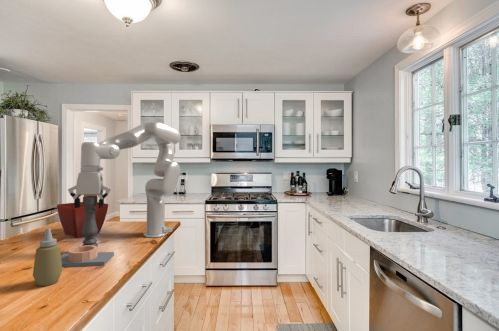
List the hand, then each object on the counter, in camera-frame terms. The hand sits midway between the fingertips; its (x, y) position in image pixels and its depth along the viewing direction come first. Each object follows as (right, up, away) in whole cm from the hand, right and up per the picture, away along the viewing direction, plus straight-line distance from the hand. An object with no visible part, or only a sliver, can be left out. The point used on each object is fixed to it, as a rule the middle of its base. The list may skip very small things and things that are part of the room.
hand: (89, 207), depth 124 cm
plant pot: (-21, -20, +31) cm, 42 cm away
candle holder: (0, -20, +1) cm, 20 cm away
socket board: (+4, -20, -11) cm, 23 cm away
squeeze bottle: (+4, -21, -31) cm, 38 cm away
